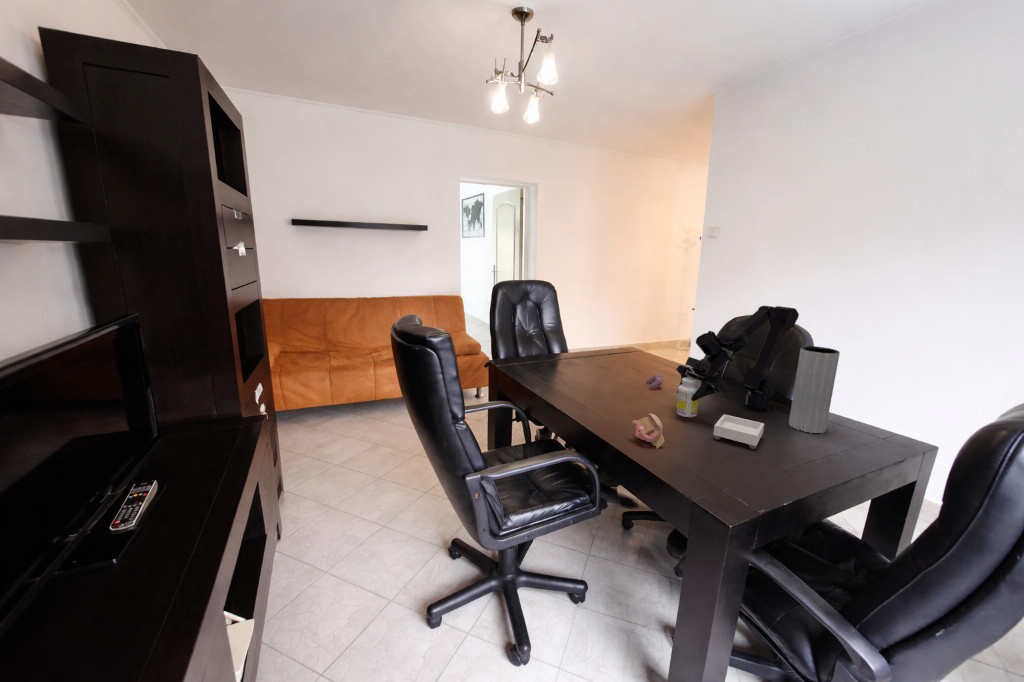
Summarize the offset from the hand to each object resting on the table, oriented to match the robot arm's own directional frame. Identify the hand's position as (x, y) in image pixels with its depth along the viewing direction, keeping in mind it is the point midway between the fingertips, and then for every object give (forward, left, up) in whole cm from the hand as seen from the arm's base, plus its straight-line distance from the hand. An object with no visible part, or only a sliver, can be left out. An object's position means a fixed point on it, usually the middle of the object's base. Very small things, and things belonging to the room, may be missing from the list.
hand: (684, 396), depth 138 cm
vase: (-39, -5, -8) cm, 40 cm away
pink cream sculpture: (+12, +22, -9) cm, 27 cm away
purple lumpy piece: (+8, -35, -9) cm, 37 cm away
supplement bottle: (-1, -1, -7) cm, 7 cm away
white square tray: (-15, +11, -8) cm, 21 cm away
